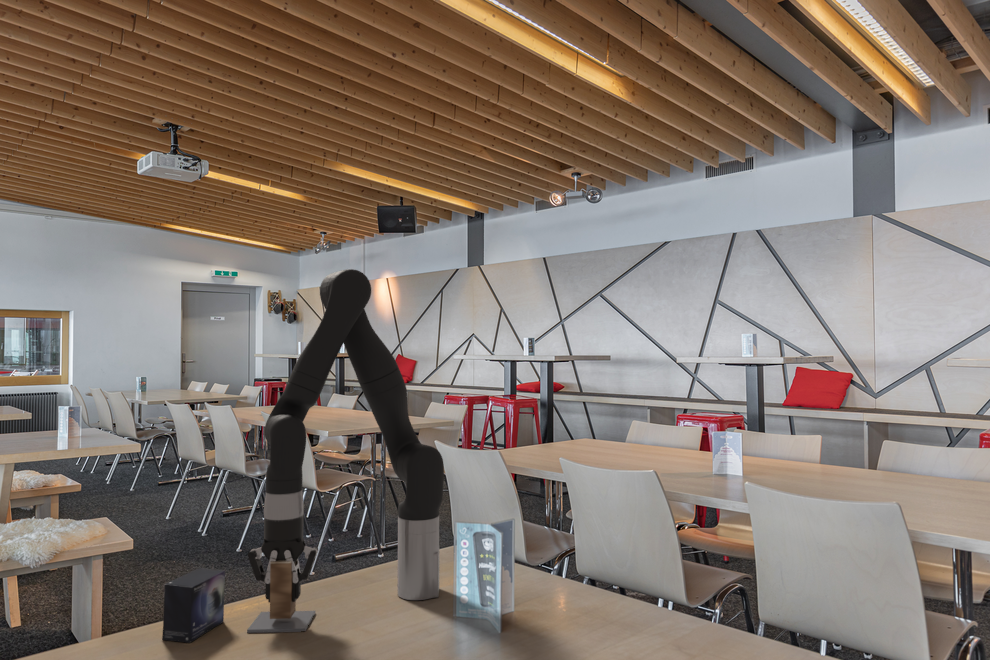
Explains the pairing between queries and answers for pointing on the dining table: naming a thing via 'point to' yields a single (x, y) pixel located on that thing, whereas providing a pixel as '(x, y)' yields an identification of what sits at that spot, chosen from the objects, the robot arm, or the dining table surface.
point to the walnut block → (281, 590)
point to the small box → (193, 604)
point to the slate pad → (281, 623)
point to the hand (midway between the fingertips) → (282, 600)
